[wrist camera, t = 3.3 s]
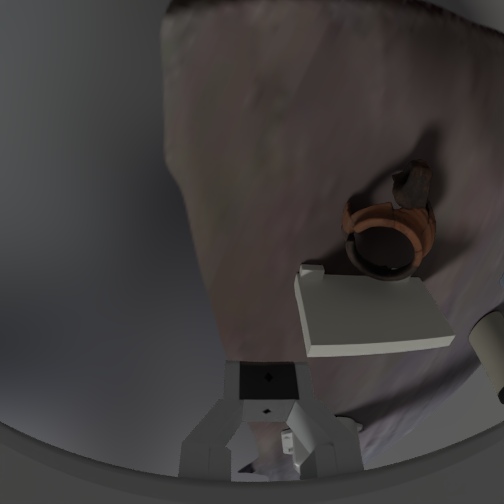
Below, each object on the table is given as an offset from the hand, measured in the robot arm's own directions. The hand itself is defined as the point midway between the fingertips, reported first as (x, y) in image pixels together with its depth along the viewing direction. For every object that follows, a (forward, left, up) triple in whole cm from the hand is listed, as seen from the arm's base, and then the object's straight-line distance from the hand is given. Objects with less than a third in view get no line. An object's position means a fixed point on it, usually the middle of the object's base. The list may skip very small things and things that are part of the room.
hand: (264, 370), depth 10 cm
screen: (-10, -13, -19) cm, 25 cm away
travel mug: (-20, -43, -19) cm, 51 cm away
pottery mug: (0, -13, -19) cm, 23 cm away
